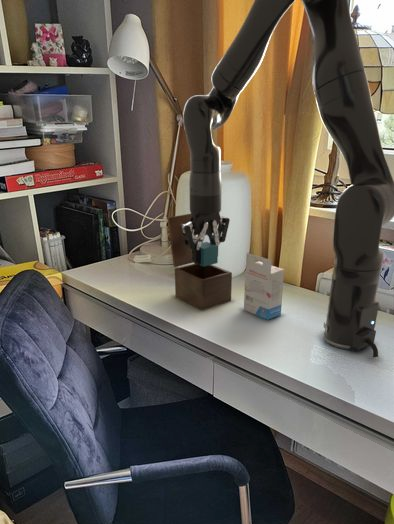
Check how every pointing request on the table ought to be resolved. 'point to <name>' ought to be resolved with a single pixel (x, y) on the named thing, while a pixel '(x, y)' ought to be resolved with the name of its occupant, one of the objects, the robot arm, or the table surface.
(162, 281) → the table surface
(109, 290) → the table surface
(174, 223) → the chest lid
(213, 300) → the chest
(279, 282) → the ink box
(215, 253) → the block
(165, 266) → the table surface
